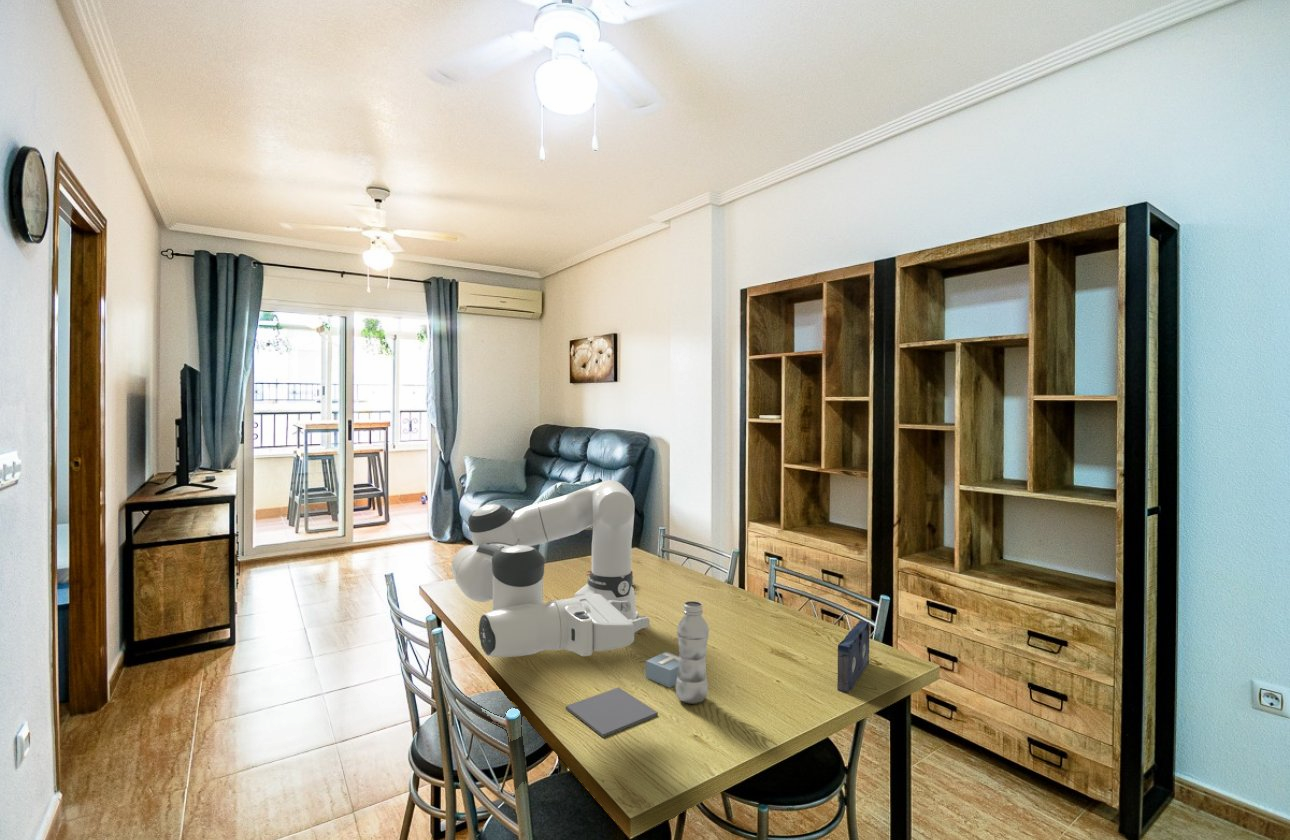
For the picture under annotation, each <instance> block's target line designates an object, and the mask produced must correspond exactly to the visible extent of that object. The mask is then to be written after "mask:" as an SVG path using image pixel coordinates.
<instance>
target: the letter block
mask: <svg viewBox="0 0 1290 840" xmlns="http://www.w3.org/2000/svg"><path fill="white" fill-rule="evenodd" d="M678 668H679V655H677V654H674V653H671V652H668V651H664V652H662V653H660V654H658V655H655V656H654V657H651V658H649V659H647V660H646V661H645V678H646V679H649V680H650V679H651V680H650V681H654V682H656V683H657V684H660V685H662V684H663V686H665V687H668V688H672V687H675V686H676V680H677V676H678Z"/></svg>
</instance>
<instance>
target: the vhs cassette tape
mask: <svg viewBox="0 0 1290 840" xmlns="http://www.w3.org/2000/svg"><path fill="white" fill-rule="evenodd" d="M870 628H871V626H870V622H868V621H863V620H859V621H858V622H857V623H856V624H855V625H854V626H853V628H851V630H849V631H848V633H847V635H846V636H845V637H844V639H843V640H841V642H839V643H838V644H837V678H836V679H837V681H836V682H837V685H836V686H837V687H836V688H837V691H841V692H843V693H844V692H845V693H847V692H848V694H849V693H850V692H851V690H852V689H853V688H854V686H855V685H856V683H857V682H858V680H859V679H860V677H861V676H860V675H862V674H863V673H864V671H865V670H866V668H867V667H868V665H869V664H870V655H869V654H870V632H871V631H870V630H871V629H870ZM858 678H859V679H858ZM856 681H857V682H856ZM849 691H850V692H849Z"/></svg>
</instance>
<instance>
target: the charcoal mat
mask: <svg viewBox="0 0 1290 840" xmlns="http://www.w3.org/2000/svg"><path fill="white" fill-rule="evenodd" d="M565 709H566V710H567V711H568V712H569V713H571V714H572V715H573V714H574V715H575V716H574V715H573V716H574V717H576V716H577V717H578V718H579V719H578V718H577V717H576V718H577V719H578V720H579V721H581V720H582V721H583V722H584V723H583V722H582V721H581V722H582V723H583V724H585V723H586V724H587V725H588V726H587V725H586V724H585V725H586V726H587V727H589V728H590V727H591V728H592V729H593V730H592V729H591V728H590V729H591V730H592V731H594V732H595V731H596V732H597V733H598V735H599V734H600V735H601V736H602V737H601V736H600V735H599V736H600V737H601V738H605V737H604V736H606V737H608V736H610V735H609V734H611V735H613V734H615V733H614V732H616V731H618V732H621V731H623V730H625V729H627V727H628V728H630V727H633V726H636V725H638V724H639V723H643V722H645V721H647V720H649V719H650V720H651V719H652V718H654V717H657V716H658V715H659V714H658V713H659V712H658V711H656V710H655V709H653V708H651V707H650V706H649V705H647V704H646V703H644V702H643V701H641V700H639V699H638V698H637V697H635V696H633V695H632V694H631V693H629V692H627V691H625V690H623V689H622V688H621V687H616V688H613V689H610V690H607V691H604V692H602V693H598V694H596V695H592V696H589V697H588V698H587V697H586V698H585V699H582V700H579V701H576V702H573V703H570V704H568V705H567V704H566V706H565ZM642 721H643V722H642ZM596 732H595V733H596ZM597 733H596V734H597ZM612 733H613V734H612ZM616 733H617V732H616ZM607 735H608V736H607Z"/></svg>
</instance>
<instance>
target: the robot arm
mask: <svg viewBox="0 0 1290 840" xmlns="http://www.w3.org/2000/svg"><path fill="white" fill-rule="evenodd" d="M635 505H636V504H635V499H634V496H633V495H632V494H631V492H630V491H629V490H628V489H627V488H626V487H625V486H624V485H623V483H620V482H619V481H616V480H613V479H609V480H607V479H606V480H603V481H600V482H598V483H595V484H592V485H588V486H585V487H583V488H580V489H578V490H575V491H572V492H570V493H567V494H564V495H561V496H557V497H553V498H550V499H547V500H543V501H540V502H535V503H532V504H528V505H527V506H524V507H521V508H519V509H517V510H513V509H509V508H508V507H507V506H505V505H502V504H500V503H492V504H485V505H482V506H480V507H478V508H477V509H475V510H474V511H472V512H471V513H470V515H469V517H468V530H469V532H470V534H471V535H470V536H471V540H472V541H471V542H472V544H471V545H470V544H469V545H466V546H464V547H462V548H461V549H459V550H458V551H457V552H456V553H455V554H454V557H453V558H452V562H451V571H452V572H451V573H452V575H453V579H454V582H455V584H456V585H457V586H458V589H460V591H461V592H462V593H463V595H465V596H466V597H467V598H468V599H470V600H471V601H475V602H479V603H485V602H486V603H487V602H490V601H492V606H491V607H492V610H491V611H487V612H484V613H483V614H481V616H480V618H479V623H478V636H479V637H478V638H479V641H480V646H481V649H482V651H483V652H484V654H485V655H486V656H488V657H491V658H492V657H493V658H510V657H511V658H512V657H514V658H515V657H523V656H530V655H534V654H538V653H539V652H541V651H546V650H548V651H554V652H555V651H560V650H562V651H563V650H565V651H569V652H572V653H575V654H577V655H579V656H581V657H589V656H592V655H593V652H594V651H595V652H605V651H611V650H616V649H622V648H625V647H629V646H630V645H631V644H633V643H634V642H635V633H636V632H638V631H640V630H642V629H646V628H649V627H650V621H651V620H650V618H649V617H648V616H646V615H639V611H637V608H636V607H637V606H636V594H635V589H634V587H633V586H632V584H634V582H633V581H634V580H633V579H634V575H633V571H632V544H633V543H632V540H633V533H634V521H635V508H636V507H635ZM591 527H592V539H591V540H592V541H591V570H589V571H588V570H587V571H586V573H587V574H586V576H588V579H587V582H586V584H585V585H583V586H582V587H581V588H579V589H578V590H577V591H576V592H575V593H574V596H573V597H570V598H563V599H556V600H555V599H554V600H549V601H547V602H545V603H544V601H543V600H544V599H543V598H544V573H545V564H546V563H545V562H546V559H545V557H544V556H543V554H542V553H541V552H540V551H539V550H538V549H537V548H535V547H534V546H538V545H541V544H546V543H549V542H553V541H555V540H556V541H557V540H560V539H563V538H567V537H569V536H574V535H576V534H579V533H580V532H582V531H584V530H586V529H588V528H591Z"/></svg>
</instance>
